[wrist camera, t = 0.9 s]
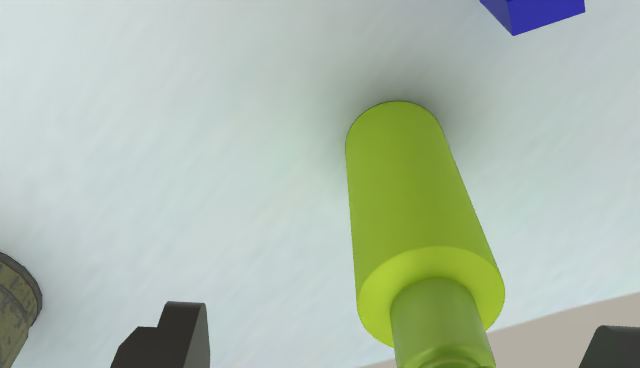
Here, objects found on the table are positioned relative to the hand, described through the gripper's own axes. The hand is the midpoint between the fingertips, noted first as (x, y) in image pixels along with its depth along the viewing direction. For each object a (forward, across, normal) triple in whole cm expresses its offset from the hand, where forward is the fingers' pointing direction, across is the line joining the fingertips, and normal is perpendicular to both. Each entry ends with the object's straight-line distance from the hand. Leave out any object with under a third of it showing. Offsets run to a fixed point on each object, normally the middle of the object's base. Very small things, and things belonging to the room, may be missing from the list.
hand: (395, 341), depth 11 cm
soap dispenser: (+21, -3, +6) cm, 22 cm away
